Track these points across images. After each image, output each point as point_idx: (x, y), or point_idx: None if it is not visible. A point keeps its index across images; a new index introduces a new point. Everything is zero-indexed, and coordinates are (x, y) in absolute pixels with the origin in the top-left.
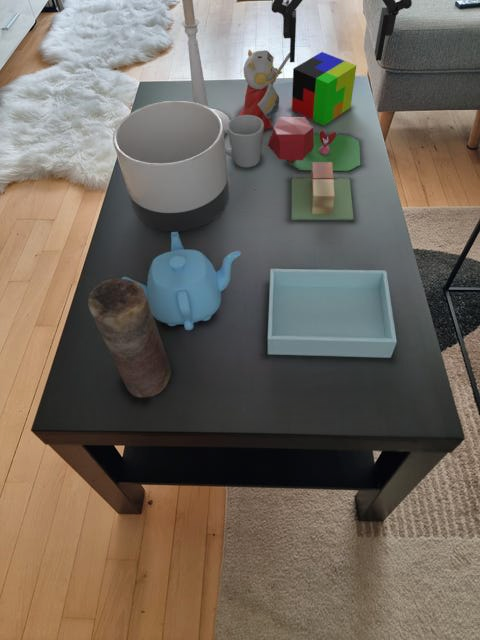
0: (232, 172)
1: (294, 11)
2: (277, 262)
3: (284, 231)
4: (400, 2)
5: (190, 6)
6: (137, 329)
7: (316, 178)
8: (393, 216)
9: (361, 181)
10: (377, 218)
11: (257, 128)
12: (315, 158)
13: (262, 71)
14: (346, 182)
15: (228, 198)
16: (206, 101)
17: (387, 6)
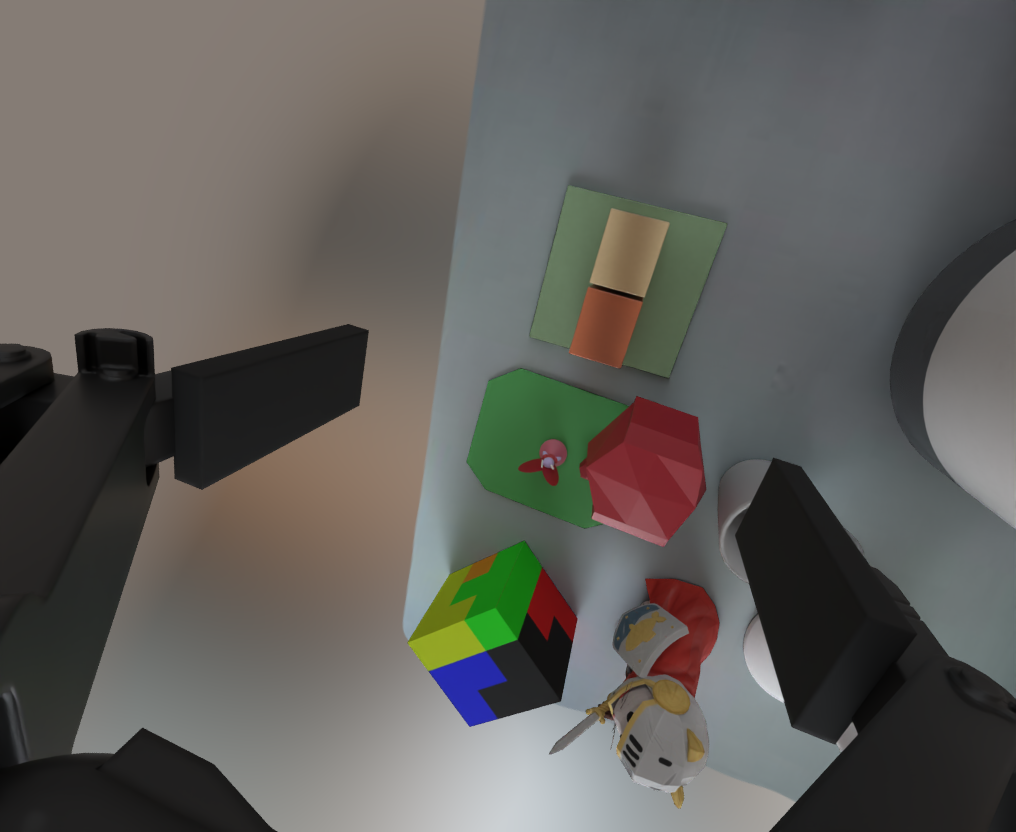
0: (814, 456)
1: (817, 716)
2: (837, 46)
3: (764, 180)
4: (47, 396)
5: None
6: None
7: (633, 299)
8: (472, 179)
9: (504, 324)
10: (510, 179)
11: (728, 540)
12: (582, 435)
13: (665, 713)
14: (541, 324)
15: (914, 306)
16: None
17: (136, 393)
